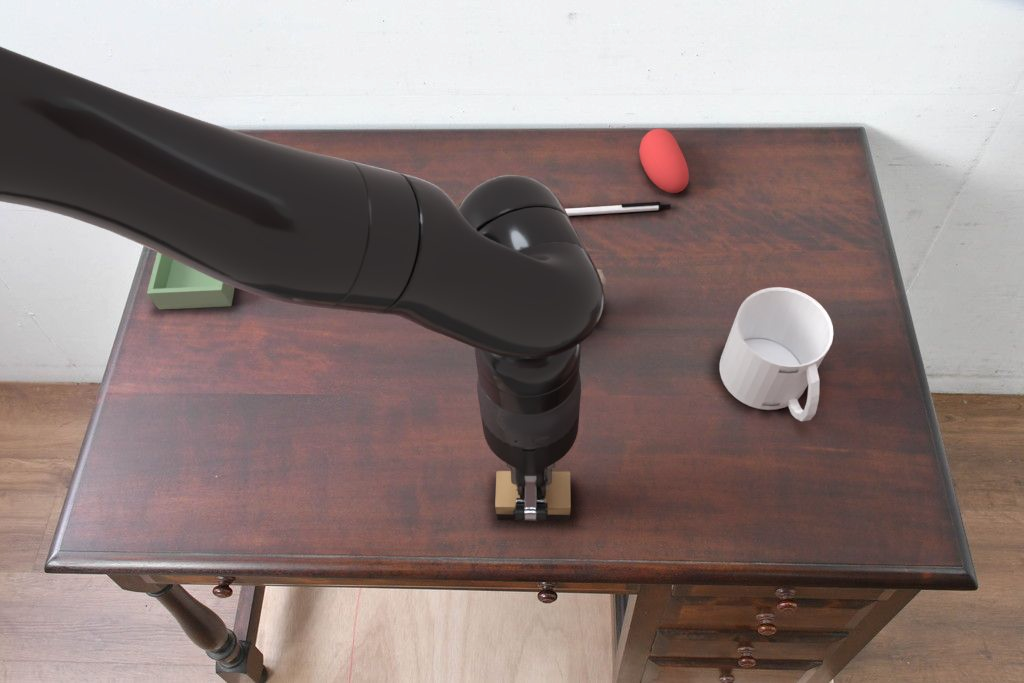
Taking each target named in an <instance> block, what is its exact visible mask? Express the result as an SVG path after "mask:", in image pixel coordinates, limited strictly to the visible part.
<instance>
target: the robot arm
mask: <svg viewBox="0 0 1024 683" xmlns="http://www.w3.org/2000/svg"><path fill="white" fill-rule="evenodd" d="M0 202H2V203H7V204H13V205H19V206H24V207H29V208H33V209H38V210H41V211H45V212H50V213H53V214H57V215H60V216H64V217H69V218H71V219H74V220H77V221H79V222H83V223H86V224H88V225H92V226H95V227H97V228H99V229H100V228H101V229H103V230H106V231H109V232H110V233H113V234H115V235H117V236H120V237H122V238H125V239H127V240H129V241H131V242H134V243H137V244H139V245H141V246H143V247H145V248H148V249H150V250H153V251H154V252H156V253H157V252H158V253H160V254H162V255H165V256H167V257H169V258H171V259H173V260H175V261H177V262H180V263H182V264H184V265H186V266H188V267H191V268H193V269H195V270H197V271H199V272H201V273H203V274H205V275H207V276H210V277H212V278H214V279H216V280H218V281H221V282H223V283H225V284H228V285H230V286H233V287H235V289H239V290H241V291H244V292H246V293H249V294H252V295H255V296H259V297H262V298H264V299H269V300H273V301H277V302H281V303H287V304H292V305H298V306H306V307H312V308H318V309H319V308H320V309H330V310H339V311H347V312H348V311H350V312H358V313H368V314H377V315H391V316H397V317H400V318H402V319H405V320H408V321H410V322H412V323H414V324H416V325H418V326H419V327H422V328H423V329H426V330H429V331H431V332H433V333H437V334H439V335H442V336H445V337H447V338H450V339H452V340H455V341H457V342H460V343H463V344H465V345H467V346H470V347H472V348H474V355H475V364H476V370H477V383H476V386H477V387H476V389H477V400H478V405H479V406H478V407H479V412H480V417H481V425H482V431H483V435H484V436H483V437H484V439H485V442H486V444H487V446H488V447H489V449H490V450H491V451H492V453H493V454H494V455H495V456H496V457H497V458H498V459H499V460H501V461H503V462H504V463H506V466H507V468H509V469H510V471H511V482H512V483H513V484H515V485H516V491H518V495H520V498H516V505H515V509H514V510H513V516H515V519H514V521H526V522H528V521H530V522H534V521H535V522H536V521H537V522H539V521H541V522H543V521H544V522H546V521H547V520H546V516H548V510H546V509H548V503H546V498H545V496H546V491H548V486H546V485H549V484H551V483H552V471H553V469H554V468H555V467H556V463H557V462H559V461H561V459H563V458H564V457H565V456H566V455H567V454H568V453H569V452H570V450H571V449H572V447H574V444H575V443H576V439H577V436H578V434H579V423H580V411H581V398H582V379H581V374H580V367H581V366H580V364H581V350H582V348H581V346H582V344H581V343H582V342H584V341H585V340H586V339H587V338H588V337H589V336H590V335H591V334H592V333H593V331H594V330H595V329H596V327H597V326H598V324H599V322H600V320H601V318H602V315H603V311H604V307H605V288H604V289H603V285H602V282H601V278H600V276H599V273H598V271H597V269H598V268H597V267H596V265H595V263H594V262H593V260H592V258H591V256H590V254H589V253H588V251H587V249H586V247H585V245H584V243H583V241H582V240H581V238H580V236H579V233H578V232H577V230H576V228H575V226H574V224H573V222H572V221H571V218H570V216H568V214H567V213H566V211H565V209H566V208H565V207H564V205H563V203H562V202H561V201H560V199H559V198H558V197H557V195H556V194H555V193H554V192H553V191H552V190H551V189H550V188H549V187H548V186H546V185H545V184H544V183H542V182H540V181H538V180H537V179H534V178H532V177H529V176H524V175H519V174H504V175H499V176H495V177H493V178H490V179H488V180H485V181H483V182H482V183H480V184H479V185H476V187H475V188H473V189H472V190H470V192H469V193H468V194H467V195H466V196H465V197H464V199H462V201H461V202H460V204H459V205H458V206H457V204H456V203H455V202H454V200H453V199H452V198H451V197H450V195H448V194H447V192H445V191H444V190H443V189H442V188H441V187H439V186H438V185H437V184H434V183H433V182H430V181H429V180H426V179H423V178H420V177H418V176H414V175H410V174H408V173H407V174H406V173H402V172H398V171H394V170H390V169H386V168H382V167H378V166H373V165H370V164H365V163H361V162H358V161H353V160H347V159H345V158H340V157H336V156H335V157H334V156H330V155H326V154H323V153H322V154H321V153H318V152H313V151H308V150H305V149H300V148H297V147H292V146H289V145H285V144H281V143H278V142H275V141H271V140H268V139H264V138H261V137H256V136H253V135H250V134H246V133H243V132H239V131H238V130H237V131H236V130H233V129H230V128H227V127H224V126H220V125H217V124H215V123H211V122H208V121H205V120H201V119H199V118H196V117H193V116H190V115H187V114H184V113H181V112H178V111H176V110H173V109H169V108H166V107H164V106H161V105H158V104H156V103H152V102H150V101H147V100H144V99H141V98H140V97H139V98H138V97H136V96H133V95H130V94H128V93H125V92H122V91H120V90H117V89H114V88H111V87H109V86H106V85H103V84H101V83H98V82H96V81H93V80H91V79H87V78H85V77H83V76H80V75H76V74H74V73H71V72H69V71H66V70H64V69H62V68H58V67H56V66H54V65H51V64H47V63H45V62H42V61H39V60H37V59H34V58H31V57H29V56H26V55H24V54H21V53H19V52H16V51H13V50H10V49H8V48H6V47H3V46H1V45H0ZM524 519H525V520H524ZM536 519H537V520H536Z"/></svg>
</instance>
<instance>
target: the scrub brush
mask: <svg viewBox="0 0 1024 683" xmlns="http://www.w3.org/2000/svg"><path fill="white" fill-rule="evenodd" d="M495 472H496V473H495V474H496V475H495V478H496V479H495V498H494V500H495V501H494V507H495V514H496V519H497V520H515V516H513V510H514V509H515V505H516V498H520V495H518V491H516V485H515V484H513V483H512V482H511V470H496V471H495ZM546 486H548V491H546V496H545V498H546V503H548V509H546V510H548V516H546V521H551V520H552V521H570V519H571V510H572V508H571V506H572V504H571V501H572V500H571V499H572V498H571V497H572V496H571V471H569V470H567V471H565V470H563V471H561V470H559V471H557V470H552V483H551V484H549V485H546ZM524 521H525V519H524ZM536 521H537V519H536Z"/></svg>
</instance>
